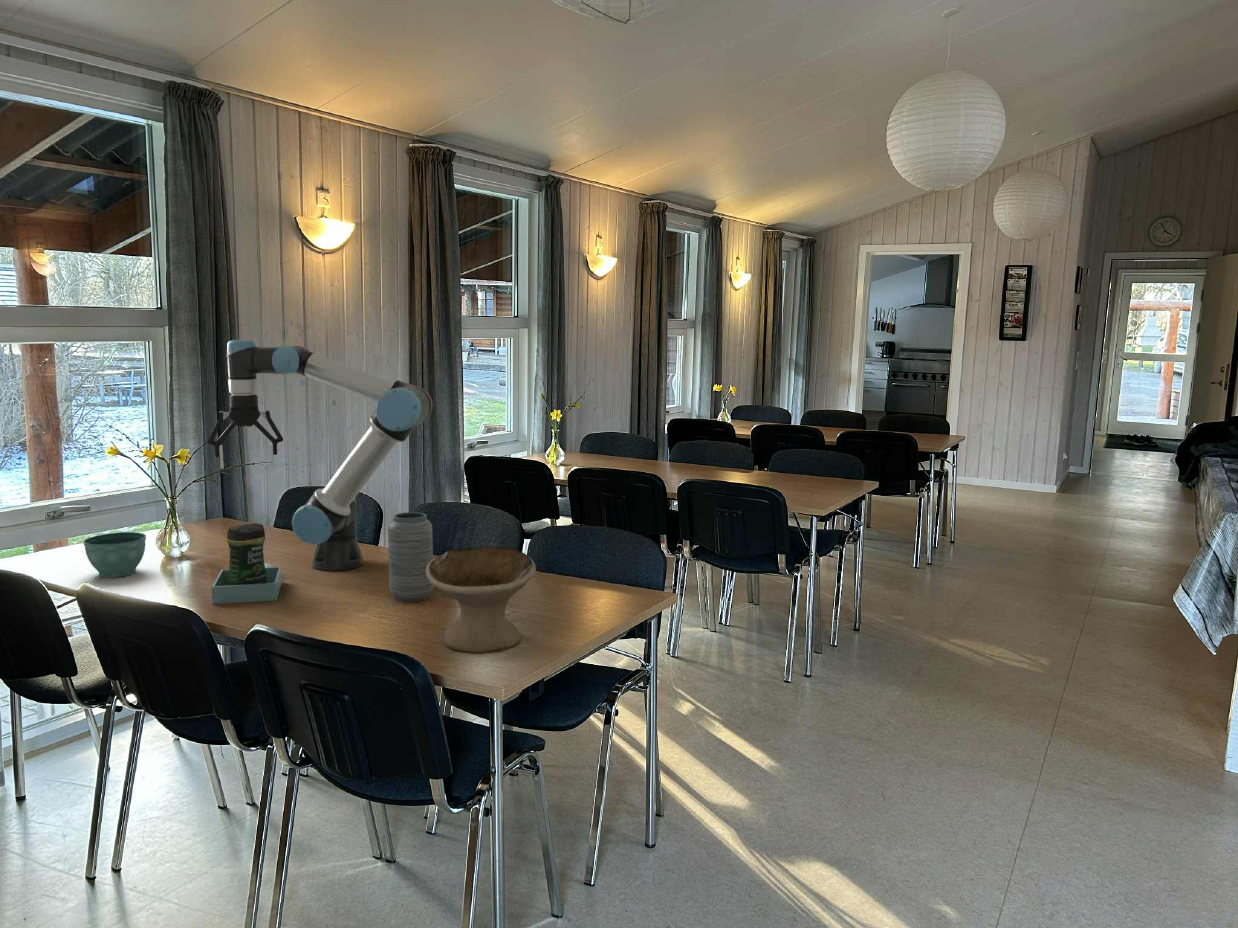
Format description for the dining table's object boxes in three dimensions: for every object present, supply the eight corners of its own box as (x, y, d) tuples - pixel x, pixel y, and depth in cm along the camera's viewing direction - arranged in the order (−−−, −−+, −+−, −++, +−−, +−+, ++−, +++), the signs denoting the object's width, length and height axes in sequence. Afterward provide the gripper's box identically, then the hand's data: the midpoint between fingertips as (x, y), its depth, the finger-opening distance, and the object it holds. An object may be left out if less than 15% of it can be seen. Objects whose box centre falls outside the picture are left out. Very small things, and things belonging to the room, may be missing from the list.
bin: (281, 582, 267) (281, 566, 266) (276, 600, 250) (276, 583, 249) (221, 585, 263) (221, 569, 262) (212, 604, 246) (211, 587, 245)
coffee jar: (241, 597, 250) (238, 529, 248) (223, 592, 255) (220, 525, 252) (272, 588, 258) (269, 523, 256) (255, 584, 263) (252, 519, 260)
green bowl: (82, 583, 263) (80, 546, 261) (88, 569, 278) (86, 534, 276) (146, 578, 270) (144, 541, 268) (149, 564, 284) (147, 530, 283)
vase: (386, 594, 257) (384, 512, 253) (428, 590, 261) (427, 509, 258) (393, 606, 246) (391, 520, 243) (437, 601, 251) (436, 517, 247)
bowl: (404, 650, 213) (403, 565, 210) (461, 618, 236) (460, 542, 233) (504, 666, 204) (504, 577, 201) (553, 631, 227) (553, 552, 224)
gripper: (289, 392, 276) (292, 463, 279) (196, 394, 267) (201, 467, 270) (289, 394, 269) (293, 466, 272) (195, 396, 260) (199, 471, 263)
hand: (247, 467), depth 271 cm, fingers open, 13 cm apart
